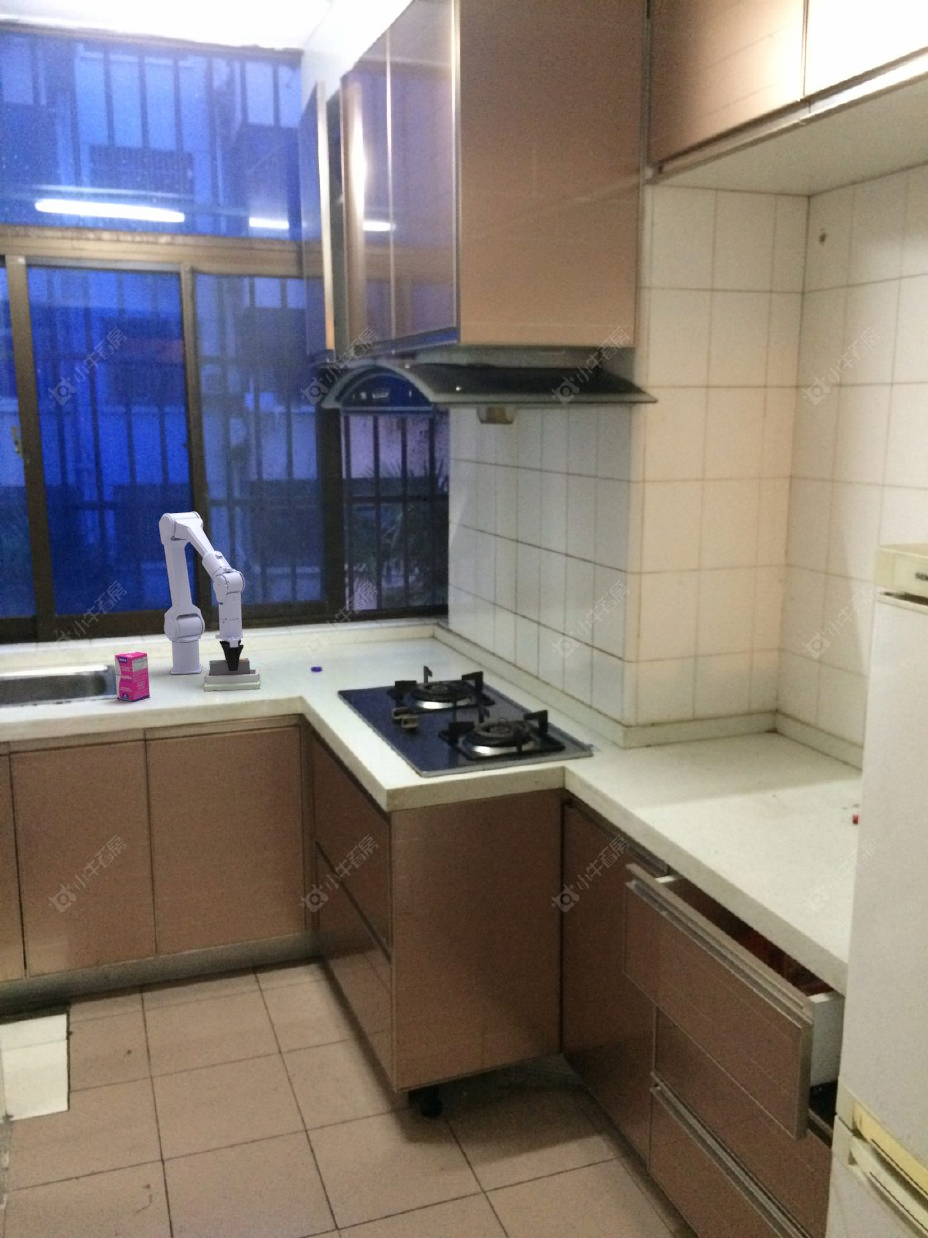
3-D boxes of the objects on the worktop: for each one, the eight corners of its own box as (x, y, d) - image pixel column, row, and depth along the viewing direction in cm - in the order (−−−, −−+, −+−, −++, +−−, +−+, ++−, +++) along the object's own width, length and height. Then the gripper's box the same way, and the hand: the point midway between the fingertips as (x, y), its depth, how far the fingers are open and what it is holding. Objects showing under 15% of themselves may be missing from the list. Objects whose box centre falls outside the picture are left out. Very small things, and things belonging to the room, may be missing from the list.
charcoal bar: (210, 679, 272) (209, 659, 271) (248, 676, 275) (247, 657, 274) (211, 682, 269) (210, 662, 268) (250, 679, 272) (249, 660, 271)
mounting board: (206, 678, 278) (206, 667, 277) (259, 676, 280) (259, 665, 280) (204, 691, 264) (203, 679, 264) (259, 688, 267) (259, 677, 266)
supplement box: (116, 699, 256) (113, 654, 254) (133, 694, 261) (131, 650, 259) (133, 702, 253) (130, 657, 251) (150, 697, 259) (148, 652, 256)
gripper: (212, 614, 275) (214, 663, 277) (217, 623, 261) (219, 675, 264) (239, 612, 277) (240, 662, 279) (245, 622, 263) (247, 673, 266)
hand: (232, 668), depth 272 cm, fingers closed on charcoal bar, 4 cm apart
